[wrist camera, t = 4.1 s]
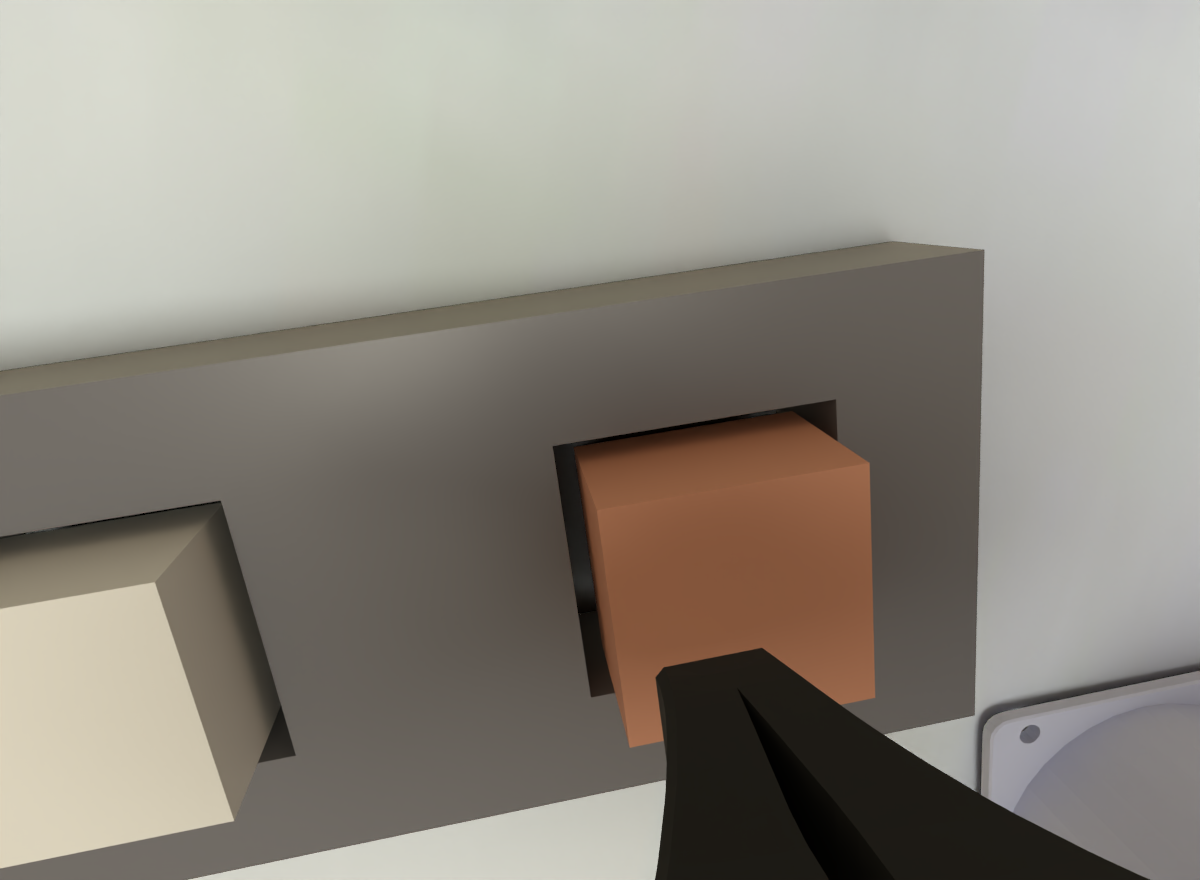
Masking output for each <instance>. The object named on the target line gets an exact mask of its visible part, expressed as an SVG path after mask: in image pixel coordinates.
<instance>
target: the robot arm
mask: <svg viewBox="0 0 1200 880" xmlns="http://www.w3.org/2000/svg"><path fill="white" fill-rule="evenodd" d="M655 678H656V686H657V694H658V701H659V709H660V716H661V724H662V731H663V739H664V746H665V754H666V761H667V767H666V794H665V806H664V815H663V824H662V832H661V841H660V850H659V859H658V865H657V872H656V878H655V880H1200V671H1196V672H1191V673H1186V674H1181V675H1177V676H1172V677H1167V678H1162V679H1157V680H1153V681H1148V682H1143V683H1138V684H1133V685H1129V686H1124V687H1119V688H1114V689H1110V690H1105V691H1100V692H1095V693H1090V694H1086V695H1081V696H1076V697H1071V698H1066V699H1062V700H1057V701H1052V702H1047V703H1043V704H1038V705H1033V706H1028V707H1023V708H1019V709H1014V710H1009V711H1004V712H1001V713H998V714H995V715H994V716H992V717H991V718H990V719H989V720H988V721H987V723H986V724H985V726H984V729H983V734H982V774H981V795H980V794H979V793H977V792H975V791H974V790H972V789H970V788H969V787H967V786H965V785H964V784H962V783H960V782H959V781H957V780H955V779H953V778H952V777H950V776H948V775H947V774H945V773H943V772H942V771H940V770H938V769H937V768H935V767H933V766H932V765H930V764H928V763H927V762H925V761H923V760H922V759H920V758H919V757H917V756H916V755H914V754H912V753H911V752H909V751H908V750H906V749H905V748H903V747H901V746H900V745H898V744H897V743H895V742H894V741H892V740H891V739H889V738H888V737H886V736H885V735H883V734H882V733H880V732H879V731H877V730H876V729H874V728H873V727H872V726H870V725H869V724H867V723H866V722H864V721H863V720H861V719H860V718H858V717H857V716H855V715H854V714H853V713H851V712H850V711H848V710H847V709H846V708H844V707H843V706H841V705H840V704H839V703H837V702H836V701H834V700H833V699H832V698H830V697H829V696H827V695H826V694H825V693H823V692H822V691H821V690H819V689H818V688H816V687H815V686H814V685H812V684H811V683H810V682H808V681H807V680H806V679H804V678H803V677H802V676H800V675H799V674H797V673H796V672H795V671H793V670H792V669H791V668H789V667H788V666H787V665H785V664H784V663H782V662H781V661H780V660H778V659H777V658H776V657H774V656H773V655H771V654H770V653H769V652H767V651H766V650H765V649H763V648H758V649H753V650H748V651H743V652H738V653H733V654H728V655H723V656H718V657H713V658H708V659H703V660H698V661H693V662H688V663H683V664H678V665H673V666H668V667H663V669H662V670H661V671H660V672H659V674H658V675H657V676H656V677H655ZM1027 726H1028V727H1027ZM1025 727H1027V728H1026V729H1025V730H1024V731H1022V730H1023V729H1024V728H1025ZM1021 731H1022V732H1021Z"/></svg>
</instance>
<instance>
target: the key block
mask: <svg viewBox="0 0 1200 880" xmlns="http://www.w3.org/2000/svg"><path fill="white" fill-rule="evenodd" d="M983 288H984V250H980V249H969V248H958V247H948V246H937V245H926V244H915V243H905V242H894V241H893V242H886V243H879V244H872V245H865V246H858V247H851V248H845V249H838V250H831V251H824V252H817V253H810V254H803V255H796V256H789V257H783V258H776V259H769V260H762V261H755V262H748V263H741V264H734V265H727V266H721V267H714V268H707V269H700V270H693V271H686V272H679V273H672V274H665V275H659V276H652V277H645V278H638V279H631V280H624V281H617V282H610V283H603V284H597V285H590V286H583V287H576V288H569V289H562V290H555V291H548V292H541V293H535V294H528V295H521V296H514V297H507V298H500V299H493V300H486V301H479V302H473V303H466V304H459V305H452V306H445V307H438V308H431V309H424V310H417V311H411V312H404V313H397V314H390V315H383V316H376V317H369V318H362V319H355V320H349V321H342V322H335V323H328V324H321V325H314V326H307V327H300V328H293V329H287V330H280V331H273V332H266V333H259V334H252V335H245V336H238V337H232V338H225V339H218V340H211V341H204V342H197V343H190V344H183V345H176V346H170V347H163V348H156V349H149V350H142V351H135V352H128V353H121V354H114V355H108V356H101V357H94V358H87V359H80V360H73V361H66V362H59V363H52V364H46V365H39V366H32V367H25V368H18V369H11V370H4V371H0V539H1V538H7V537H14V536H20V535H24V534H23V533H26V532H32V531H38V530H44V529H50V528H56V527H62V526H68V525H74V524H81V523H87V522H93V521H99V520H105V519H111V518H117V517H123V516H129V515H135V514H141V513H147V512H154V511H160V510H166V509H172V508H178V507H184V506H190V505H196V504H202V503H208V502H214V501H220V500H221V503H222V506H223V509H224V513H225V516H226V520H227V523H228V526H229V530H230V533H231V537H232V540H233V543H234V547H235V550H236V554H237V557H238V560H239V564H240V567H241V571H242V574H243V577H244V581H245V584H246V588H247V591H248V594H249V598H250V601H251V605H252V608H253V611H254V615H255V618H256V622H257V625H258V628H259V632H260V635H261V639H262V642H263V645H264V649H265V652H266V656H267V659H268V662H269V666H270V669H271V673H272V676H273V679H274V683H275V686H276V690H277V693H278V696H279V700H280V703H281V706H280V709H279V711H278V714H277V716H276V719H275V721H274V724H273V726H272V729H271V731H270V734H269V736H268V739H267V741H266V744H265V746H264V749H263V751H262V754H261V756H260V759H259V761H258V763H257V766H256V768H255V771H254V773H253V776H252V778H251V781H250V783H249V786H248V788H247V791H246V793H245V796H244V798H243V801H242V803H241V806H240V808H239V811H238V813H237V816H236V818H235V820H234V821H232V822H227V823H222V824H217V825H212V826H207V827H202V828H197V829H193V830H188V831H183V832H178V833H173V834H168V835H163V836H158V837H153V838H148V839H143V840H138V841H133V842H128V843H124V844H119V845H114V846H109V847H104V848H99V849H94V850H89V851H84V852H79V853H74V854H69V855H64V856H59V857H54V858H50V859H45V860H40V861H35V862H30V863H25V864H20V865H15V866H10V867H5V868H0V880H188V879H193V878H198V877H202V876H207V875H212V874H217V873H221V872H226V871H231V870H236V869H241V868H245V867H250V866H255V865H260V864H265V863H269V862H274V861H279V860H284V859H289V858H293V857H298V856H303V855H308V854H313V853H317V852H322V851H327V850H332V849H336V848H341V847H346V846H351V845H356V844H360V843H365V842H370V841H375V840H380V839H384V838H389V837H394V836H399V835H404V834H408V833H413V832H418V831H423V830H428V829H432V828H437V827H442V826H447V825H452V824H456V823H461V822H466V821H471V820H475V819H480V818H485V817H490V816H495V815H499V814H504V813H509V812H514V811H519V810H523V809H528V808H533V807H538V806H543V805H547V804H552V803H557V802H562V801H567V800H571V799H576V798H581V797H586V796H590V795H595V794H600V793H605V792H610V791H614V790H619V789H624V788H629V787H634V786H638V785H643V784H648V783H653V782H658V781H662V780H666V767H667V761H666V754H665V746H664V741H661V742H656V743H651V744H646V745H641V746H636V747H631V748H630V747H629V743H628V739H627V736H626V732H625V728H624V724H623V721H622V717H621V713H620V710H619V706H618V702H617V698H616V695H615V691H614V687H613V683H612V680H611V676H610V672H609V669H608V665H607V661H606V657H605V654H604V650H603V646H602V641H601V634H600V627H599V620H598V613H597V611H592V612H587V613H581V614H578V610H577V603H576V597H575V590H574V583H573V577H572V570H571V564H570V557H569V551H568V544H567V538H566V531H565V525H564V518H563V511H562V505H561V498H560V492H559V485H558V479H557V472H556V466H555V459H554V453H553V446H555V445H561V444H567V443H573V442H579V441H585V440H592V439H598V438H604V437H610V436H616V435H622V434H628V433H634V432H640V431H646V430H652V429H658V428H665V427H671V426H677V425H683V424H689V423H695V422H701V421H707V420H713V419H719V418H725V417H731V416H738V415H744V414H750V413H756V412H762V411H768V410H774V409H776V413H783V412H789V411H793V412H794V413H796V414H797V415H799V416H800V417H802V418H803V419H805V420H806V421H808V422H809V423H811V424H812V425H814V426H815V427H817V428H818V429H820V430H821V431H823V432H824V433H826V434H827V435H829V436H830V437H832V438H833V439H835V440H836V441H838V442H839V443H841V444H842V445H844V446H845V447H847V448H848V449H849V450H851V451H852V452H854V453H855V454H857V455H858V456H860V457H861V458H863V459H864V460H866V461H867V462H869V463H870V503H871V545H872V586H873V628H874V669H875V698H872V699H867V700H862V701H857V702H852V703H847V704H842V705H841V706H843V707H844V708H846V709H847V710H848V711H850V712H851V713H853V714H854V715H855V716H857V717H858V718H860V719H861V720H863V721H864V722H866V723H867V724H869V725H870V726H872V727H873V728H874V729H876V730H877V731H879V732H880V733H882V734H888V733H892V732H897V731H902V730H907V729H912V728H916V727H921V726H926V725H931V724H936V723H940V722H945V721H950V720H955V719H959V718H964V717H969V716H974V715H975V668H976V620H977V573H978V525H979V478H980V430H981V383H982V335H983Z"/></svg>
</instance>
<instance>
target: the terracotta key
mask: <svg viewBox="0 0 1200 880" xmlns="http://www.w3.org/2000/svg"><path fill="white" fill-rule="evenodd" d="M574 453H575V460H576V467H577V474H578V481H579V488H580V495H581V502H582V509H583V516H584V523H585V530H586V537H587V544H588V550H589V557H590V564H591V571H592V578H593V585H594V592H595V599H596V606H597V613H598V620H599V627H600V634H601V641H602V646H603V650H604V654H605V657H606V661H607V665H608V669H609V672H610V676H611V680H612V683H613V687H614V691H615V695H616V698H617V702H618V706H619V710H620V713H621V717H622V721H623V724H624V728H625V732H626V736H627V739H628V743H629V747H630V748H631V747H636V746H641V745H646V744H651V743H656V742H661V741H664V739H663V731H662V724H661V716H660V709H659V701H658V694H657V686H656V678H655V677H656V676H657V675H658V674H659V672H660V671H661V670H662V669H663V667H668V666H673V665H678V664H683V663H688V662H693V661H698V660H703V659H708V658H713V657H718V656H723V655H728V654H733V653H738V652H743V651H748V650H753V649H758V648H763V649H765V650H766V651H767V652H769V653H770V654H771V655H773V656H774V657H776V658H777V659H778V660H780V661H781V662H782V663H784V664H785V665H787V666H788V667H789V668H791V669H792V670H793V671H795V672H796V673H797V674H799V675H800V676H802V677H803V678H804V679H806V680H807V681H808V682H810V683H811V684H812V685H814V686H815V687H816V688H818V689H819V690H821V691H822V692H823V693H825V694H826V695H827V696H829V697H830V698H832V699H833V700H834V701H836V702H837V703H839V704H840V705H842V704H847V703H852V702H857V701H862V700H867V699H872V698H875V669H874V628H873V586H872V545H871V503H870V463H869V462H867V461H866V460H864V459H863V458H861V457H860V456H858V455H857V454H855V453H854V452H852V451H851V450H849V449H848V448H847V447H845V446H844V445H842V444H841V443H839V442H838V441H836V440H835V439H833V438H832V437H830V436H829V435H827V434H826V433H824V432H823V431H821V430H820V429H818V428H817V427H815V426H814V425H812V424H811V423H809V422H808V421H806V420H805V419H803V418H802V417H800V416H799V415H797V414H796V413H794V412H793V411H789V412H783V413H777V414H771V415H765V416H759V417H753V418H747V419H741V420H735V421H729V422H723V423H717V424H710V425H704V426H698V427H692V428H686V429H680V430H674V431H668V432H662V433H656V434H650V435H644V436H638V437H632V438H626V439H620V440H613V441H607V442H601V443H595V444H589V445H583V446H577V447H574Z"/></svg>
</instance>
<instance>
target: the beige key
mask: <svg viewBox="0 0 1200 880" xmlns="http://www.w3.org/2000/svg"><path fill="white" fill-rule="evenodd" d="M280 706H281V703H280V700H279V696H278V693H277V690H276V686H275V683H274V679H273V676H272V673H271V669H270V666H269V662H268V659H267V656H266V652H265V649H264V645H263V642H262V639H261V635H260V632H259V628H258V625H257V622H256V618H255V615H254V611H253V608H252V605H251V601H250V598H249V594H248V591H247V588H246V584H245V581H244V577H243V574H242V571H241V567H240V564H239V560H238V557H237V554H236V550H235V547H234V543H233V540H232V537H231V533H230V530H229V526H228V523H227V520H226V516H225V513H224V509H223V506H222V503H221V502H220V503H214V504H208V505H202V506H196V507H190V508H184V509H178V510H171V511H165V512H159V513H153V514H147V515H141V516H135V517H129V518H123V519H117V520H111V521H105V522H99V523H93V524H86V525H80V526H74V527H68V528H62V529H56V530H50V531H44V532H38V533H32V534H26V535H20V536H14V537H7V538H1V539H0V868H5V867H10V866H15V865H20V864H25V863H30V862H35V861H40V860H45V859H50V858H54V857H59V856H64V855H69V854H74V853H79V852H84V851H89V850H94V849H99V848H104V847H109V846H114V845H119V844H124V843H128V842H133V841H138V840H143V839H148V838H153V837H158V836H163V835H168V834H173V833H178V832H183V831H188V830H193V829H197V828H202V827H207V826H212V825H217V824H222V823H227V822H232V821H234V820H235V818H236V816H237V813H238V811H239V808H240V806H241V803H242V801H243V798H244V796H245V793H246V791H247V788H248V786H249V783H250V781H251V778H252V776H253V773H254V771H255V768H256V766H257V763H258V761H259V759H260V756H261V754H262V751H263V749H264V746H265V744H266V741H267V739H268V736H269V734H270V731H271V729H272V726H273V724H274V721H275V719H276V716H277V714H278V711H279V709H280Z"/></svg>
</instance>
